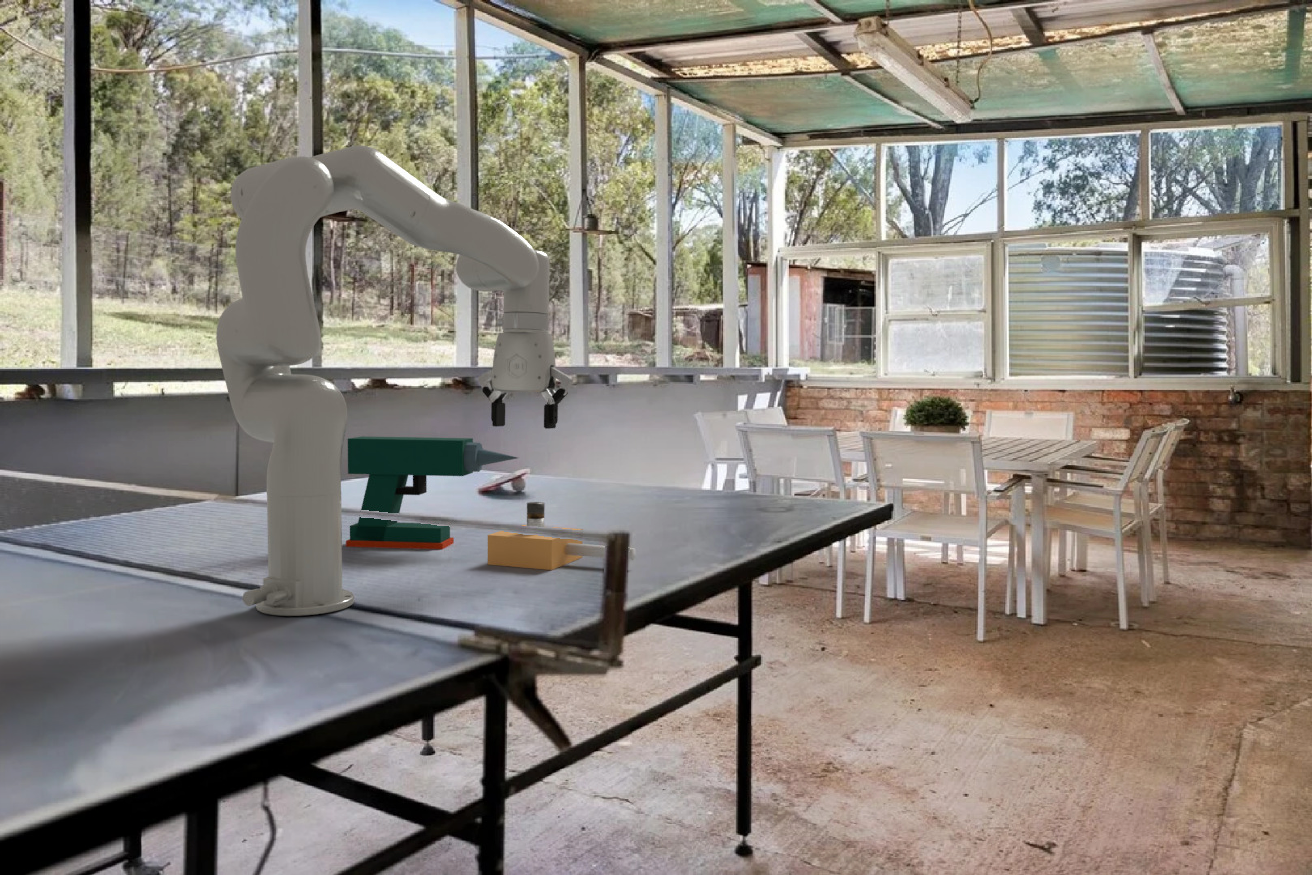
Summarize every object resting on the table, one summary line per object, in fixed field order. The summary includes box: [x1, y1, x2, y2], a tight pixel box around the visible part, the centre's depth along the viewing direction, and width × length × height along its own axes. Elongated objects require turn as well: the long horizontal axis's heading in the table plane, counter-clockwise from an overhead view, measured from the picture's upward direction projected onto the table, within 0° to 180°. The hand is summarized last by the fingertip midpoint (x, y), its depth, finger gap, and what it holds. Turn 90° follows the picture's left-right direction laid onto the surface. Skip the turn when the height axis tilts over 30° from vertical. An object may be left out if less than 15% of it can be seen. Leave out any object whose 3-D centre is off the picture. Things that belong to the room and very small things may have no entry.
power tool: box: [345, 435, 519, 550], centre depth 178 cm, size 32×7×20 cm, turn 84°
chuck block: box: [487, 524, 636, 571], centre depth 163 cm, size 12×24×5 cm, turn 70°
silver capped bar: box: [526, 501, 546, 527], centre depth 165 cm, size 3×3×10 cm
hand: (524, 427), depth 161 cm, fingers open, 9 cm apart
